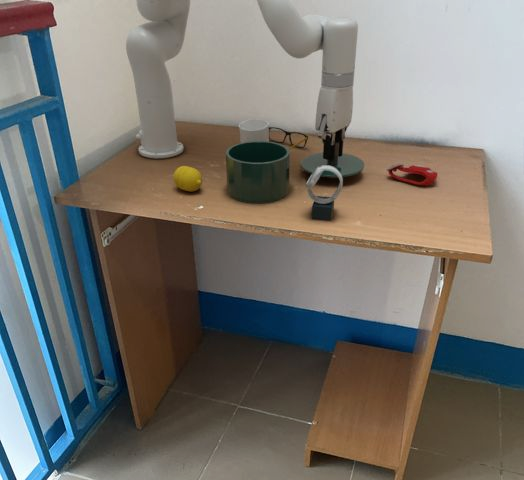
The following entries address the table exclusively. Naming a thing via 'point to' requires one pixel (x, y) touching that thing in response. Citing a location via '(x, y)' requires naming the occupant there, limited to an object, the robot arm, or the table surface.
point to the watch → (322, 205)
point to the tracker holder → (415, 170)
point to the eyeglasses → (290, 138)
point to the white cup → (254, 130)
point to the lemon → (187, 178)
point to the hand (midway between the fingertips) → (332, 156)
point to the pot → (257, 171)
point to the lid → (333, 163)
